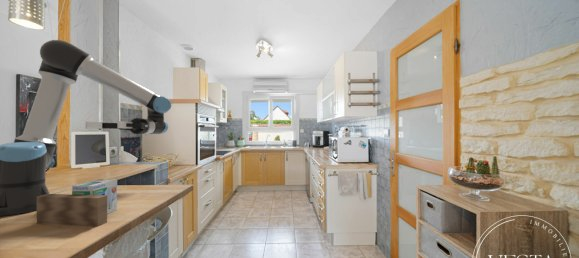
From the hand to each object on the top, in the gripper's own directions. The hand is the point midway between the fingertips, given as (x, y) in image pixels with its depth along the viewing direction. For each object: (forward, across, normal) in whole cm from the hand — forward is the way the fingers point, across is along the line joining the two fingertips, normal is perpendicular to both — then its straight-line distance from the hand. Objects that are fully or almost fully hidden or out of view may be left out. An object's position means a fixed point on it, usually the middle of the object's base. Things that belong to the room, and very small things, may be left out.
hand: (102, 124), depth 91 cm
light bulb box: (+13, -10, -30) cm, 34 cm away
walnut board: (+20, -10, -30) cm, 37 cm away
